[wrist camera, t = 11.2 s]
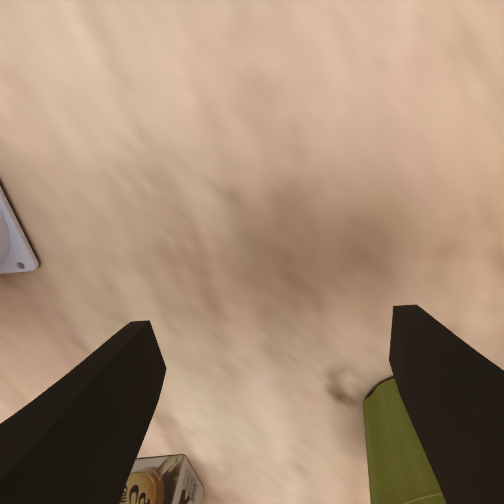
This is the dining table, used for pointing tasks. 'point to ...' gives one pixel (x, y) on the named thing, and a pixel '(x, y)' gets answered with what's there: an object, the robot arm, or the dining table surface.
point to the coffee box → (162, 482)
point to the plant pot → (396, 452)
